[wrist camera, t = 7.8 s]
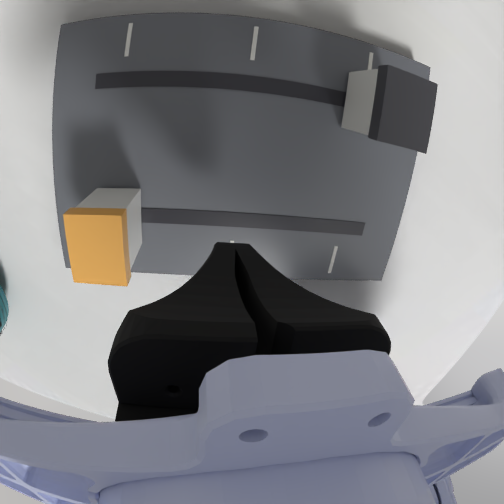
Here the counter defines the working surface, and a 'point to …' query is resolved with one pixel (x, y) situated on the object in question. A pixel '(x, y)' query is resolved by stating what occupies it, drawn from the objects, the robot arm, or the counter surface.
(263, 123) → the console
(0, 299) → the beverage bottle
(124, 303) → the counter surface
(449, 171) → the counter surface
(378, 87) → the fader black
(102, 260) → the fader orange
